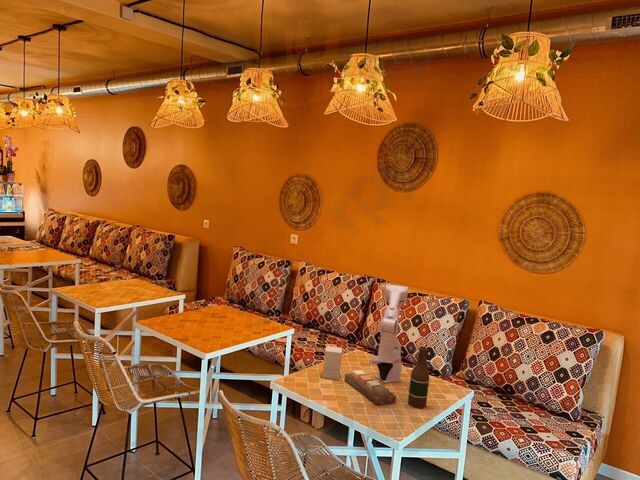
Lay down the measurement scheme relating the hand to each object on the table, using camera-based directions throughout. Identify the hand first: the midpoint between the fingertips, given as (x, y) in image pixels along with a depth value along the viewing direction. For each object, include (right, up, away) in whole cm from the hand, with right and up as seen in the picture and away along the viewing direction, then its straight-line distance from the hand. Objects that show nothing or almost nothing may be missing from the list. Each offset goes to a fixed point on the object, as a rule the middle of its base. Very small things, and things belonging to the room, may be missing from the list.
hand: (382, 380), depth 197 cm
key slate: (-1, -6, +1) cm, 6 cm away
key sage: (-3, -5, +6) cm, 9 cm away
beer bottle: (+14, -10, +1) cm, 17 cm away
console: (-5, -7, +9) cm, 13 cm away
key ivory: (-9, -4, +17) cm, 19 cm away
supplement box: (-20, -5, +22) cm, 30 cm away
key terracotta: (-6, -4, +11) cm, 13 cm away
